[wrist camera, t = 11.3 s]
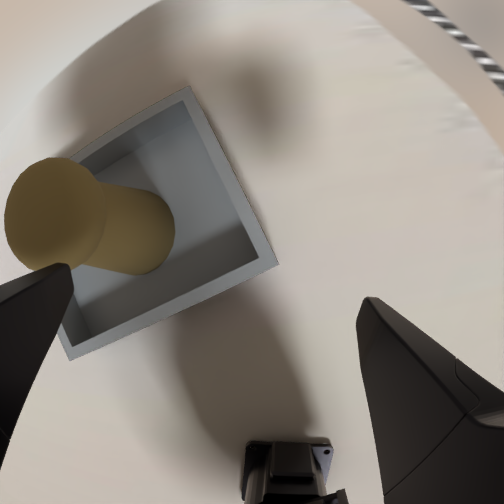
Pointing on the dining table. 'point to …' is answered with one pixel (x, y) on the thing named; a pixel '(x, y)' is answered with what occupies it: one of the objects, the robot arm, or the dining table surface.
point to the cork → (85, 221)
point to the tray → (185, 218)
